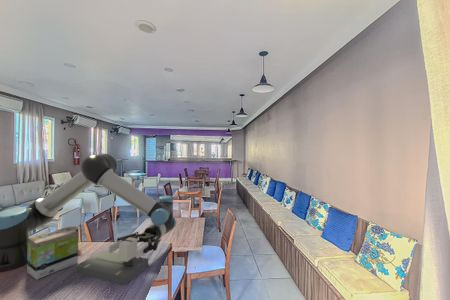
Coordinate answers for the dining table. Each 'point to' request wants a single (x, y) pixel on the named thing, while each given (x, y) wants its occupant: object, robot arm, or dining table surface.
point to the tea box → (52, 252)
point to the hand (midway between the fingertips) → (122, 252)
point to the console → (111, 267)
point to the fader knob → (127, 250)
